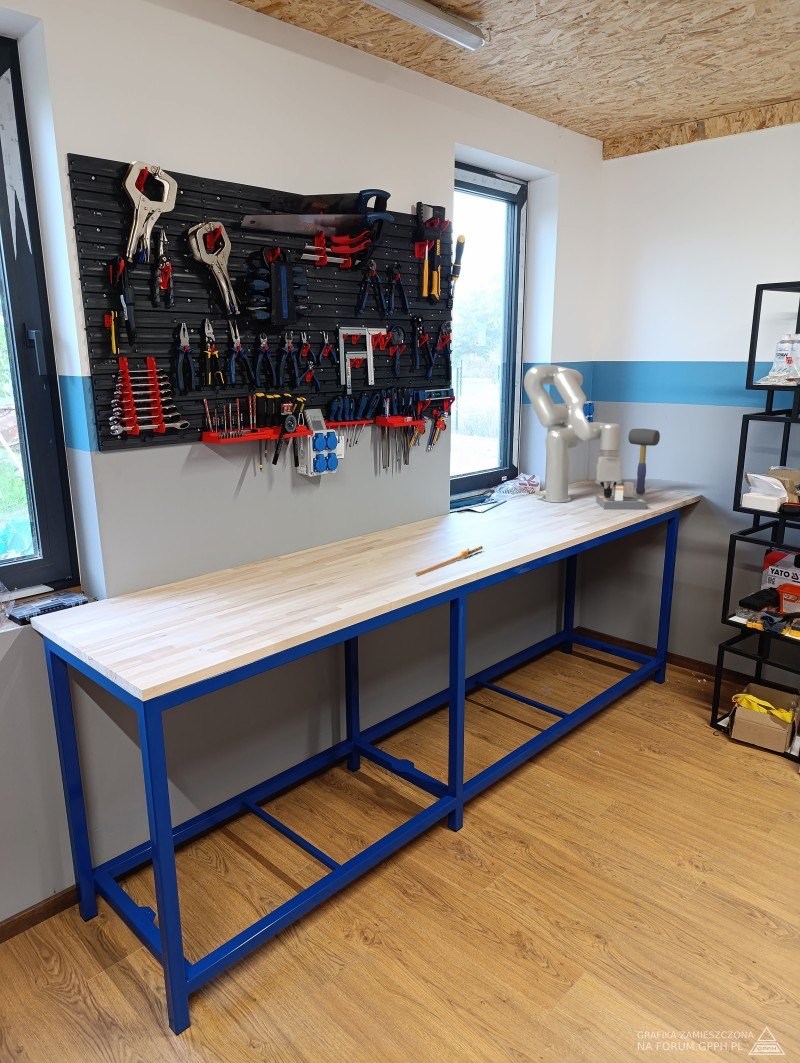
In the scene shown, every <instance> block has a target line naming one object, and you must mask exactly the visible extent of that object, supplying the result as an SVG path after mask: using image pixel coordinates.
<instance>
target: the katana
mask: <svg viewBox="0 0 800 1063" xmlns="http://www.w3.org/2000/svg"><path fill="white" fill-rule="evenodd" d="M483 548H484V547H483V546H482V545H480V546H478V547H476V548H473V549H471V550H470V548H467V549H465V550H462V551H460V554H459V555H457V556H455V557H453V558H450V559H448V560H446V561H443V562H441V563H438V564H436V565H433V566H431V567H428V568H426V569H423V570H421V571H416V572H415V573H414V574H415V575H416V576H417V577H418V576H421V575H424V574H426V573H429V572H432V571H434V570H437V569H439V568H442V567H444V566H448V565H449V564H453V563H454V562H458V561H461V560H464V559H466V558H469V557H470V556H469V555H472V554H474V553H476V552H478V551H480V550H483Z"/></svg>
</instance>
